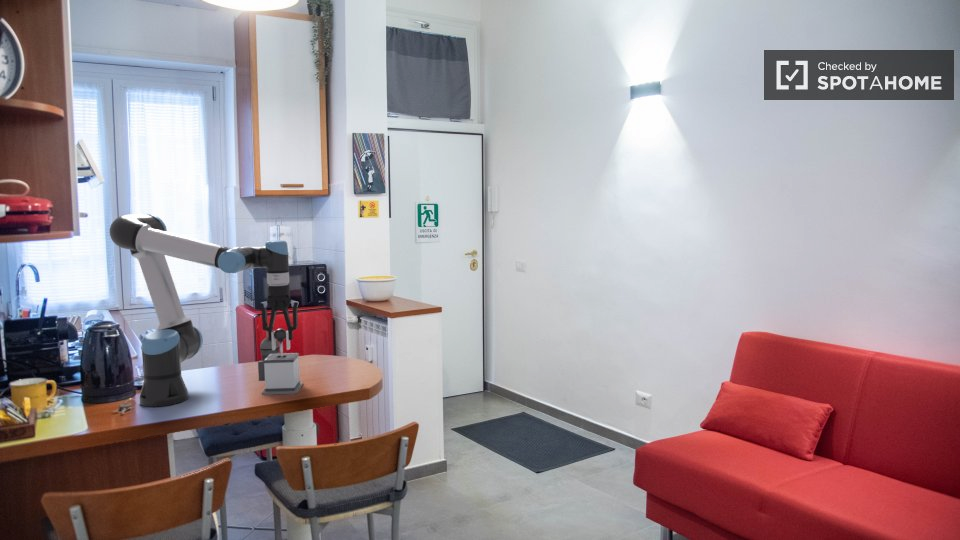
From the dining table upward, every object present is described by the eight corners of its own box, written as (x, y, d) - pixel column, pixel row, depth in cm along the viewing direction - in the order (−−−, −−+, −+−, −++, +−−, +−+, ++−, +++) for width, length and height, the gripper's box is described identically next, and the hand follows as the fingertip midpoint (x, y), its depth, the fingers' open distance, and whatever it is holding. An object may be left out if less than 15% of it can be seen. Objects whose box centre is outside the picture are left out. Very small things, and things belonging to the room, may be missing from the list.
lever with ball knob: (268, 385, 241) (266, 330, 239) (273, 379, 249) (271, 326, 247) (291, 384, 242) (289, 330, 239) (296, 378, 250) (294, 326, 247)
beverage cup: (275, 380, 258) (272, 328, 255) (257, 379, 259) (254, 327, 257) (284, 375, 265) (282, 324, 262) (267, 374, 266) (264, 323, 264)
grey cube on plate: (255, 394, 239) (253, 361, 238) (263, 385, 251) (262, 353, 250) (296, 393, 240) (295, 360, 239) (303, 384, 252) (301, 352, 251)
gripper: (250, 286, 237) (253, 352, 240) (301, 285, 238) (304, 351, 241) (255, 283, 244) (258, 347, 247) (305, 282, 246) (307, 346, 248)
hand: (281, 349), depth 244 cm, fingers closed on lever with ball knob, 4 cm apart
